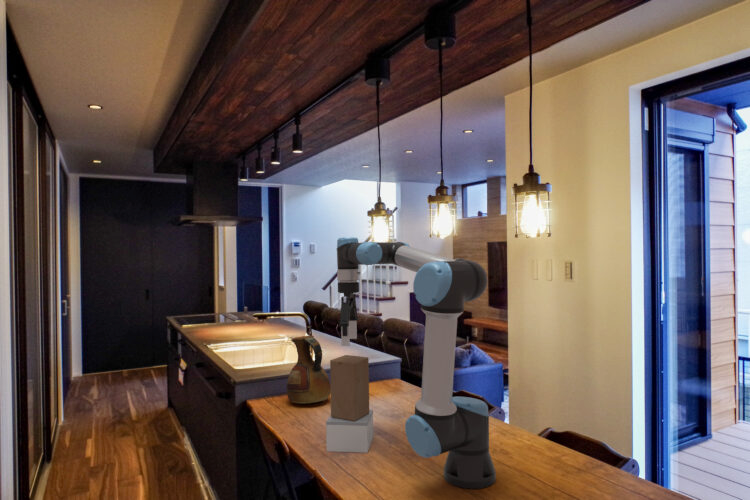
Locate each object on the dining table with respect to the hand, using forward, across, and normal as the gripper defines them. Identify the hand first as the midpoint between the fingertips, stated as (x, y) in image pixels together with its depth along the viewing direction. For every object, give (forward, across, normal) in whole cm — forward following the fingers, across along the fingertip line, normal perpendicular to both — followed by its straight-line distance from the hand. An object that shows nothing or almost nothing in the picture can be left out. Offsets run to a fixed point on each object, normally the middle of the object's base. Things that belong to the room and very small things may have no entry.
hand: (349, 342), depth 177 cm
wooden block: (+26, 0, 0) cm, 26 cm away
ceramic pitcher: (+36, +47, +28) cm, 66 cm away
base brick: (+36, 0, 0) cm, 36 cm away
